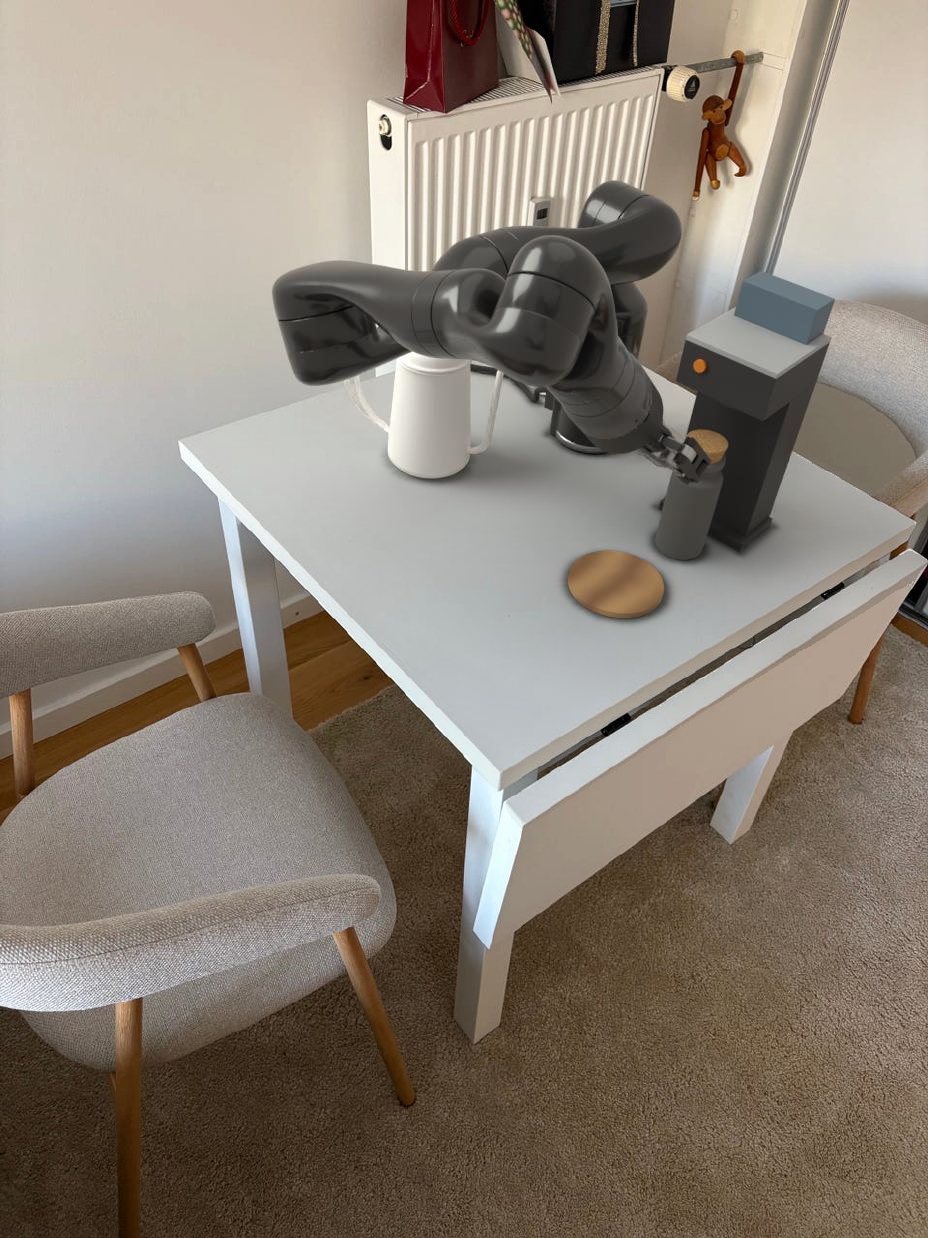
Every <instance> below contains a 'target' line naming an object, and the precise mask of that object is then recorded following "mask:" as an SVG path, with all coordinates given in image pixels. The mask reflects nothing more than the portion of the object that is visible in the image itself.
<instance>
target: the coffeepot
mask: <svg viewBox="0 0 928 1238" xmlns="http://www.w3.org/2000/svg"><path fill="white" fill-rule="evenodd" d="M472 362H473V360H469V359H442V358H431V357H426V356H423V355H420V354H417V353H414V352H411V353H409V354H406V355H404V356H402V357H400V358H397V359H395V374H394V383H393V392H392V402H391V411H390V412H391V413H390V421H389V425H388V424H387V423H386V421H384V420H382V419H381V417H379V416H378V415H377V414H376V413H375V412H374V410H373V409H372V408H371V406H370V405H369V403H368V401H367V400H366V398H365V396H364V393H363V391H362V387H361V382H360V381H361V380H360V375H358V376H355V377H353V379H354V382H353V383H354V388H353V386H352V383H351V381H350V378H349V379H346V380H343V381H342V382H343V384H344V387H345V389H346V392H347V394H348V396H349V398H350V400H351V401H352V403H353V404H354V406H356V408H357V409H358V410H359V412H360V413H361V414H362V415H363V416H364V417H365V418H366V419H367V420H369V421H370V422H371V423H372V424H373V425H375V426H376V427H377V428H379V429H381V430H382V431H384V432H385V433H386V434H387V436H388V437H387V455H388V458H389V460H390V462H391V463H392V464H393V466H395V467H396V468H397V469H398V470H400V471H401V472H402V473H405V474H407V475H409V476H413V477H417V478H419V479H420V478H421V479H442V478H446V477H449V476H453V475H455V474H457V473H458V472H460V471H461V470H463V469H464V468H465V467H466V466H467V465H468V463H469V461H470V458H471V455H478V454H481V453H482V452H484V451H485V450H486V449H488V447H489V445H490V443H491V441H492V436H493V432H494V427H495V422H496V418H497V417H496V416H497V410H498V406H499V401H500V395H501V389H502V384H503V380H504V377H505V376H504V373H502V372H500V371H499V370H498V371H497V374H495V375H496V376H495V380H494V385H493V390H492V396H491V401H490V406H489V412H488V417H487V423H486V427H485V433H484V437H483V440H482V442H481V443H480V444H479V445H478V446H471V443H472V442H471V440H472V439H471V435H472V434H471V416H472V415H471V369H470V364H472ZM354 389H355V390H354Z"/></svg>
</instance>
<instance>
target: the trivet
mask: <svg viewBox="0 0 928 1238" xmlns="http://www.w3.org/2000/svg"><path fill="white" fill-rule="evenodd" d="M567 584H568V588H569V591H570V593H571V595H572V596H573V597H574V599H575V600H576V601H577V602H578V603H579V604H581V605H582V606H583V607H585V608H586V609H587V610H590V611H592V612H594V613H596V614H598V615H601V616H605V617H609V618H613V619H633V618H639V617H642V616H643V617H644V616H645V615H648V614H650V613H651V612H653V611H654V610H655V609H657V607H659V605H660V603H662V601H663V596H664V594H665V583H664V579H663V577H662V576H661V574H660V572H659V571H658V570H657V569H656V568H655V566H653V565H652V564H651V563H650V562H648V561H646V560H645V559H643V558H641V557H639V556H637V555H634V554H631V553H629V552H624V551H619V550H607V549H606V550H598V551H596V550H595V551H592V552H589V553H585V554H583V555H582V556H580V557H578V558H577V559H576V560H575V561H574V562H573V563H572V565H571V566H570V569H569V571H568V576H567Z"/></svg>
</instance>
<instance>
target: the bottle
mask: <svg viewBox="0 0 928 1238" xmlns="http://www.w3.org/2000/svg"><path fill="white" fill-rule="evenodd" d="M686 434H687V433H686ZM686 437H693V438H694V439H696V441H697V442H698V443H699V445H700V446H701V447H702V449H703V450H704V451H705V453H706V454H707V456H708V457H709V458H710V460H711V461H712V462H711V463H710V465H709V466H708V467H707V469H706V470H705V472H704V473H703V475H702V477H701V478H700V481H699V482H698V483H695V482H694V483H692V482H690V483H689V484H688V485H686V484H684V483H682V482H681V481H680V480H679V478H678V477H677V476H676V474H675V473H674V472H673V471H672V470H671V474H670V478H669V482H668V485H667V489H666V494H665V496H664V498H665V501H664V505H663V509H662V510H661V513H660V518H659V521H658V525H657V528H656V529H657V530H656V534H655V537H654V538H655V539H654V543H655V547H656V548H657V549H658V551H660V553H662V554H663V555H664V556H667V557H669V558H671V559H675V560H680V561H689V560H693V559H697V557H699V556H700V555H701V554H702V552H703V549H704V547H705V543H706V540H707V538H708V530H709V527H710V524H711V521H712V517H713V514H714V511H715V507H716V504H717V500H718V497H719V493H720V490H721V487H722V483H723V474H722V472H721V471H720V470H722V469H723V467H724V465H725V461H726V456H725V454H724V453H725V452H726V450H727V448H728V441H727V440H726V438H725V437H724V436H722V435H721V434H719V433H716V432H714V431H710V430H702V429H700V430H694V431H691V432H690V433H688V434H687V436H686V435H685V438H686Z"/></svg>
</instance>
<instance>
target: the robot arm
mask: <svg viewBox="0 0 928 1238" xmlns="http://www.w3.org/2000/svg"><path fill="white" fill-rule="evenodd" d="M682 238H683V225H682V221H681V218H680V216H679V214H678V212H677V211H676V210H675V209H674V207H672V205H670V204H669V203H668V202H667V201H665V200H664V199H661V198H660V197H657V196H655V195H653V194H652V193H649V192H647V191H644V190H642V189H640V188H638V187H636V186H634V185H631V184H630V183H627V182H625V181H621V180H618V179H617V180H616V179H615V180H614V179H613V180H606V181H604V182H602V183H601V184H599V185H598V186H596V187H595V188H594V189H593V190H592V191H591V193H590V194H589V196H588V197H587V198H586V200H585V202H584V204H583V206H582V209H581V211H580V213H579V217H578V221H577V226H576V227H564V226H563V227H562V226H550V225H549V226H545V225H511V226H505V227H499V228H496V229H493V230H489V231H485V232H482V233H478V234H476V235H475V234H474V235H472V236H469V237H466V238H463V239H460V240H457V242H455V243H453V244H452V245H451V246H450V247H448V249H446V250H445V252H444V253H443V254H441V256H440V257H439V258H438V260H437V261H436V262H435V264H434V265H433V266H432V268H430V270H429V271H428V270H426V271H425V270H423V271H422V270H421V271H420V270H419V271H418V270H409V269H402V268H397V267H391V266H387V265H382V264H376V263H368V262H362V261H356V260H355V261H354V260H343V259H341V260H339V259H337V260H336V259H335V260H325V261H319V262H314V263H310V264H306V265H303V266H300V267H296V268H294V269H291V270H288V271H287V272H284V273H283V274H280V276H279V277H278V278H277V279H276V280H275V281H274V283H273V285H272V288H271V296H272V297H271V298H272V304H273V309H274V313H275V317H276V319H277V323H278V324H277V325H278V327H279V331H280V334H281V338H282V342H283V345H284V349H285V352H286V356H287V359H288V363H289V365H290V368H291V370H292V373H293V375H294V378H295V379H296V380H297V381H298V382H299V383H301V384H302V385H306V386H309V387H320V386H328V385H332V384H337V383H340V382H344V381H343V380H346V379H349V380H350V379H352V378H354V377H355V376H358V375H359V376H360V375H362V374H365V373H367V372H369V371H372V370H374V369H377V368H379V367H381V366H384V365H385V364H386V365H387V364H388V363H391V362H393V361H396V359H397V358H400V357H402V356H404V355H406V354H409V353H411V352H414V353H417V354H420V355H423V356H426V357H431V358H442V359H469V360H472V361H475V362H478V363H480V364H484V365H479V364H474V363H471V364H470V371H471V370H473V371H476V372H477V371H478V372H484V373H490V374H495V375H497V371H498V370H499V371H500V372H502V373H504V376H503V377H505V378H507V379H508V378H509V379H510V380H511V381H512V382H514V383H515V384H516V385H517V386H518V387H519V389H520V390H521V392H523V393H524V394H525V395H526V397H527V398H528V399H529V401H532V402H535V403H536V402H539V400H540V396H541V394H540V393H546V395H545V396H544V397H545V398H544V405H543V406H544V407H543V408H544V409H547V410H549V411H552V413H551V418H550V419H551V420H550V427H549V435H550V434H551V435H553V436H555V437H556V439H557V441H558V442H560V443H561V444H562V445H563V446H565V447H566V448H569V449H571V450H574V451H576V452H581V453H585V454H605V453H608V454H613V455H623V454H624V455H625V454H629V453H633V454H635V455H639V456H642V457H644V458H645V459H647V460H648V461H649V462H650V463H652V464H653V465H655V466H656V467H659V468H662V469H669V470H670V471H671V472H672V471H673V472H674V473H675V474H676V476H677V477H678V478H679V480H680V481H681V482H682V483H684V484H686V485H688V484H689V483H690V482H692V483H694V482H695V483H698V482H699V481H700V478H701V477H702V475H703V473H704V472H705V470H706V469H707V467H708V466H709V465H710V463H711V462H712V461H711V460H710V458H709V457H708V456H707V454H706V453H705V451H704V450H703V449H702V447H701V446H700V445H699V443H698V442H697V441H696V439H694V438H693V437H686V436H685V438H686V439H685V438H684V437H683V436H681V434H679V433H677V432H676V430H674V429H673V428H671V427H670V426H669V425H667V424H666V422H665V420H664V402H663V399H662V396H661V394H660V391H659V390H658V389H657V387H656V385H655V384H654V382H653V381H652V379H651V378H650V376H649V375H648V373H647V372H646V370H645V369H644V366H642V364H641V362H640V361H639V357H640V352H641V347H642V341H643V337H644V332H645V328H646V322H647V318H648V311H649V304H648V300H647V298H646V296H645V295H644V293H642V291H641V289H640V288H639V287H638V286H637V284H636V282H639V281H642V280H645V279H647V278H649V277H651V276H653V275H655V274H657V273H658V272H659V271H661V270H662V269H663V268H664V267H665V266H666V265H668V263H669V262H670V261H671V260H672V259H673V257H674V256H675V254H676V253H677V251H678V249H679V248H680V244H681V243H682V242H681V241H682ZM528 386H530V387H533V388H535V389H534V390H533V393H532V392H531V391H530V390H529V388H528ZM654 453H659V455H658V456H657V455H656V454H654Z"/></svg>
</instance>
